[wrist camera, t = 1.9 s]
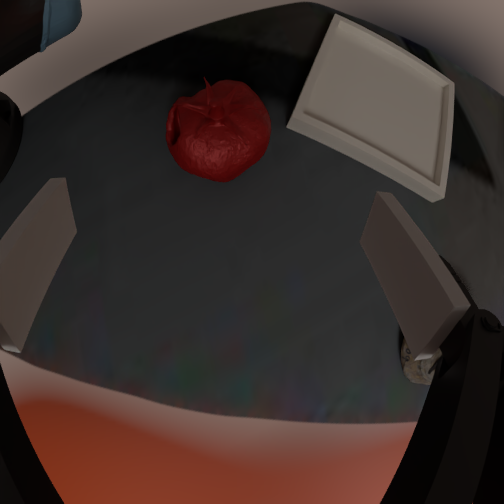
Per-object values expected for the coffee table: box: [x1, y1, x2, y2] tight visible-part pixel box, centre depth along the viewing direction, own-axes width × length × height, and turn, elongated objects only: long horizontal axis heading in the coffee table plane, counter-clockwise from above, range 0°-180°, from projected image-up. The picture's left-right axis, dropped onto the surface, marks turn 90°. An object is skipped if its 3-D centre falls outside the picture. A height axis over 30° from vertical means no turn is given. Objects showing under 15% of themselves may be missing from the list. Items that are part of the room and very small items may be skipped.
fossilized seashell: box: [401, 337, 442, 385], centre depth 31 cm, size 11×11×7 cm
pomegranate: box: [166, 77, 271, 182], centre depth 28 cm, size 10×10×9 cm
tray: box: [286, 14, 454, 202], centre depth 34 cm, size 20×20×2 cm
